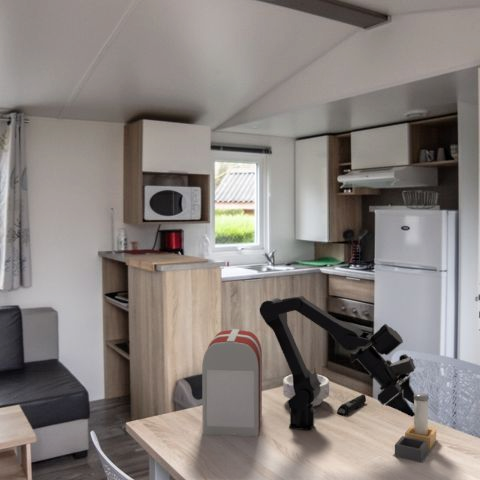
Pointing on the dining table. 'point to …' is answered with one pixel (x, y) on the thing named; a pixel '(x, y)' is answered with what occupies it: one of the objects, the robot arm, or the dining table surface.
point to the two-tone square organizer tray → (415, 445)
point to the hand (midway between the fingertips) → (416, 410)
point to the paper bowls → (324, 393)
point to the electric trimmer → (351, 405)
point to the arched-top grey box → (232, 384)
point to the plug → (421, 414)
